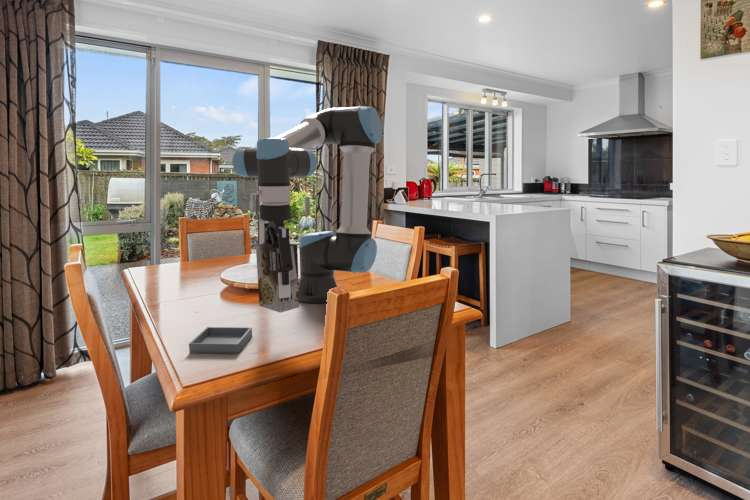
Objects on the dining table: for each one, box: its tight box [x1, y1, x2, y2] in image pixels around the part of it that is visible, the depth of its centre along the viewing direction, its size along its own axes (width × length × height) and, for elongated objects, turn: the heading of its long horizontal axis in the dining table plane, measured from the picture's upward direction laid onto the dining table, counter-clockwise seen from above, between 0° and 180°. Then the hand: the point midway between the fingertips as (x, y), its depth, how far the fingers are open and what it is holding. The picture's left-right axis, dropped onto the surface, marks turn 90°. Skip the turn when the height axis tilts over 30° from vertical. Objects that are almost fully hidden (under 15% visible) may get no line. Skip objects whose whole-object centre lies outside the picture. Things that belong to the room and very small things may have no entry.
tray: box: [188, 326, 253, 355], centre depth 118 cm, size 12×12×2 cm
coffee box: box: [255, 242, 300, 313], centre depth 115 cm, size 9×6×16 cm
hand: (278, 291), depth 115 cm, fingers closed on coffee box, 10 cm apart
